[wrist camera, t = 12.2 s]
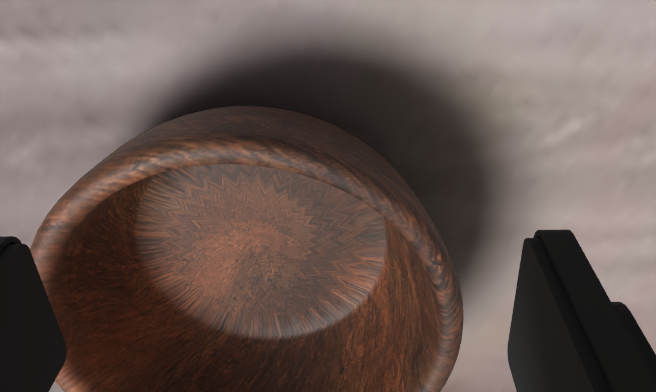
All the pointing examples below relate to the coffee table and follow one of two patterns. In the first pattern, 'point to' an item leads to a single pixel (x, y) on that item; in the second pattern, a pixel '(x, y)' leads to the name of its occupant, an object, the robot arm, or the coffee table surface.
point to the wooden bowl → (248, 264)
